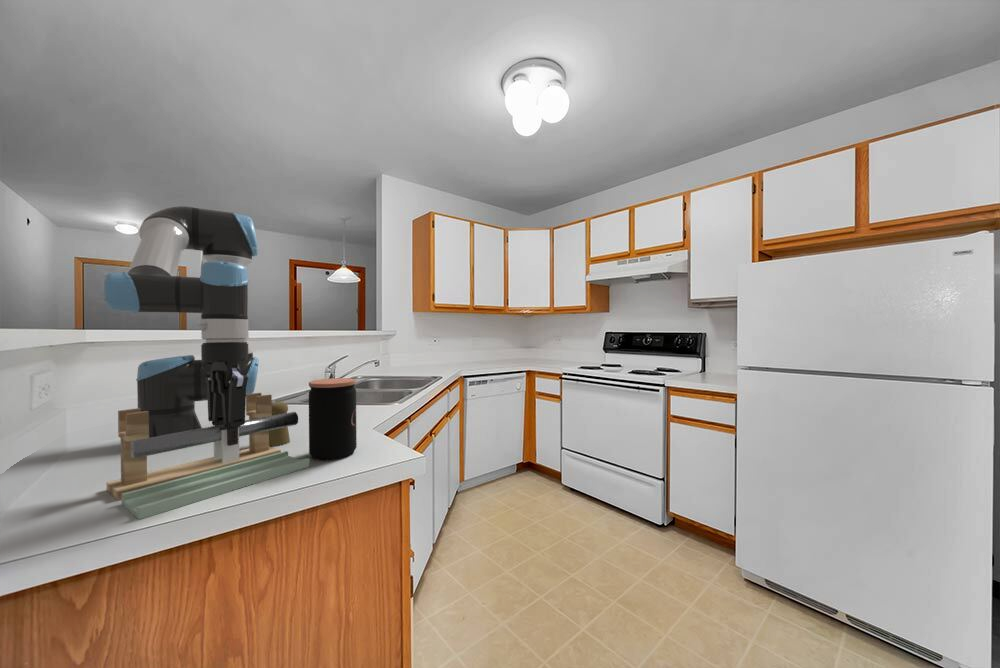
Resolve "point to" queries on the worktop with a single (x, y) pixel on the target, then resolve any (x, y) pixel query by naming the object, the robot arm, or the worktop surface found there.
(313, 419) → the coffee jar
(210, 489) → the tray
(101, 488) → the worktop surface
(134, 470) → the rail rack
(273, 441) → the olive green shaker
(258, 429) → the rail
